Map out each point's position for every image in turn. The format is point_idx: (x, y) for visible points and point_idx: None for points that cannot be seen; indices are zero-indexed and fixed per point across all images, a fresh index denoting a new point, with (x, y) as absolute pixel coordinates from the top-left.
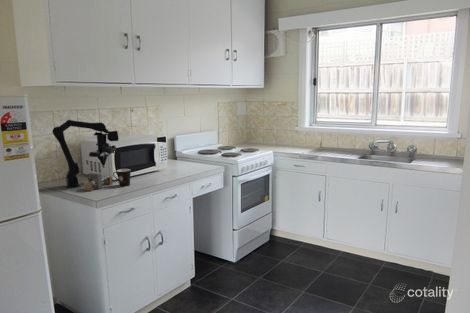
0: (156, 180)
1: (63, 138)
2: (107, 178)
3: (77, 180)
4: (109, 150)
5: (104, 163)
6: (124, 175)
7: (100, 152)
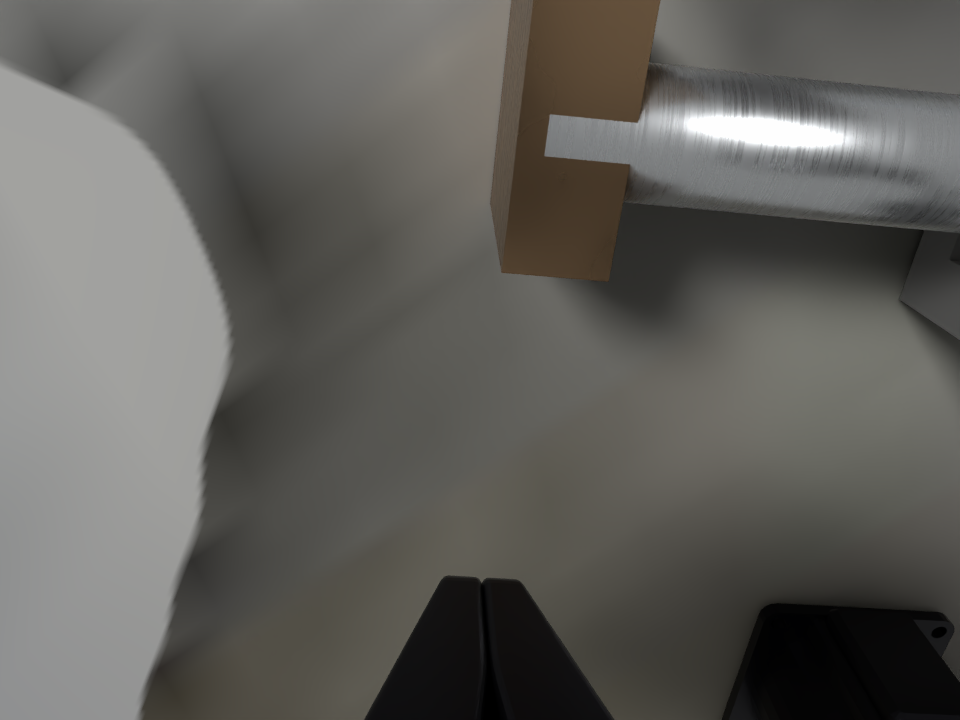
0: None
1: None
2: (677, 68)
3: (900, 694)
4: None
5: (482, 657)
6: None
7: None
